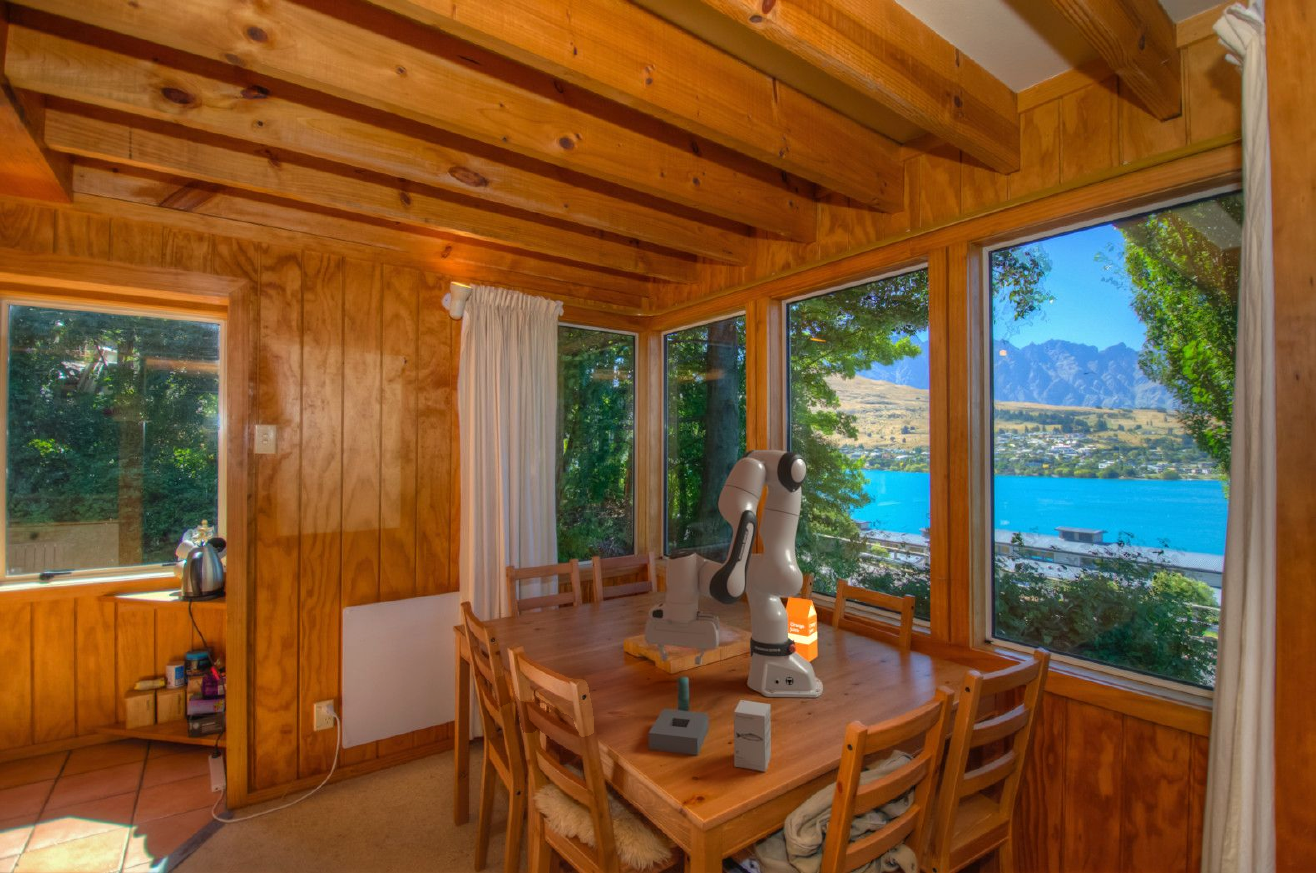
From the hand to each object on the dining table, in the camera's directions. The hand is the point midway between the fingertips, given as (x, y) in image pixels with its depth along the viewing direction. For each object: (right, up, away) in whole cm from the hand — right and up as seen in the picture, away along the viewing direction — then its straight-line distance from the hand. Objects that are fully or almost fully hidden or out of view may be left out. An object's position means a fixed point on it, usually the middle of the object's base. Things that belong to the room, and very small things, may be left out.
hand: (681, 662), depth 165 cm
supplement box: (+16, -14, -25) cm, 33 cm away
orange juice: (+43, -15, +45) cm, 64 cm away
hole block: (-1, -14, -13) cm, 19 cm away
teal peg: (+1, -15, 0) cm, 15 cm away
